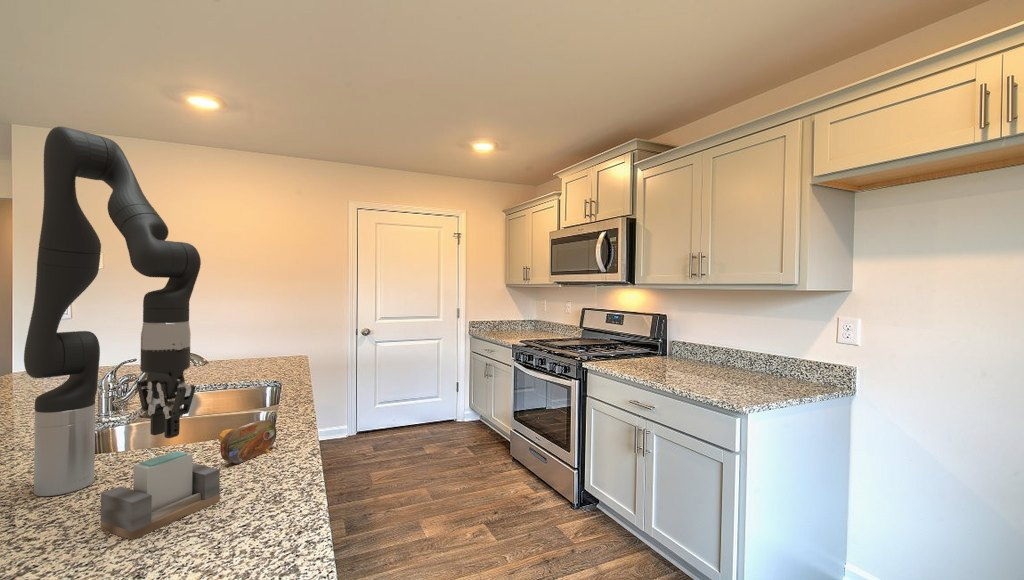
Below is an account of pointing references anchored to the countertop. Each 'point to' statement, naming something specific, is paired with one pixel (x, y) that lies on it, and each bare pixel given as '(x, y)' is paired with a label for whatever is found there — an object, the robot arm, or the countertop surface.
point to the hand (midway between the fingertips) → (164, 435)
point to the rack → (133, 509)
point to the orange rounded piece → (227, 432)
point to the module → (165, 478)
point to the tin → (248, 441)
